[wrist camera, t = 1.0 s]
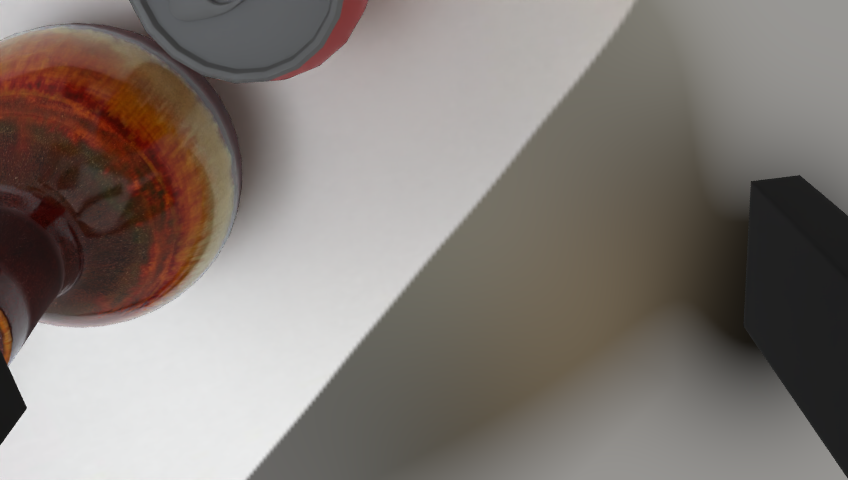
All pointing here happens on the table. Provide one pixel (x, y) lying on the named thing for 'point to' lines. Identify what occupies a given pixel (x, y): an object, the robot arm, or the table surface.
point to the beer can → (250, 34)
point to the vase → (106, 178)
